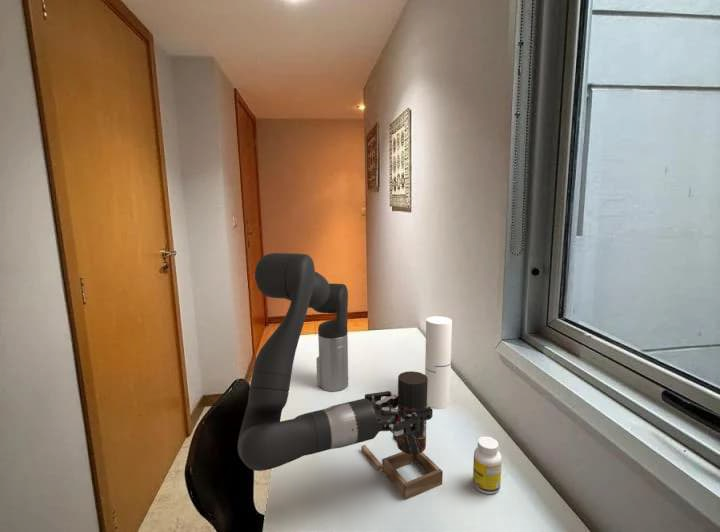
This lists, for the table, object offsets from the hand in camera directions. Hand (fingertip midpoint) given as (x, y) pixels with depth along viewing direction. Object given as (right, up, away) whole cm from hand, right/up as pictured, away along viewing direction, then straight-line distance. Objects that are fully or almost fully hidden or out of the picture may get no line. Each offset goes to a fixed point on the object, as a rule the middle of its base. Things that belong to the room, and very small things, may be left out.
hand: (422, 404), depth 79 cm
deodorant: (-2, -9, 0) cm, 9 cm away
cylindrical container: (+10, -11, +32) cm, 35 cm away
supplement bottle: (+13, -17, -1) cm, 21 cm away
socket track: (-4, -15, +5) cm, 17 cm away
